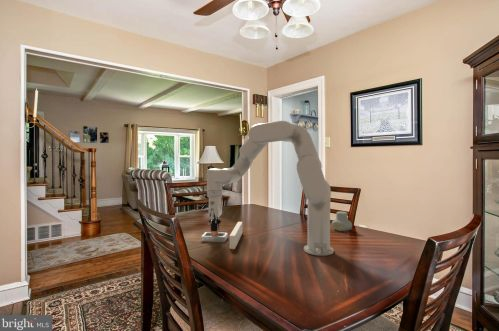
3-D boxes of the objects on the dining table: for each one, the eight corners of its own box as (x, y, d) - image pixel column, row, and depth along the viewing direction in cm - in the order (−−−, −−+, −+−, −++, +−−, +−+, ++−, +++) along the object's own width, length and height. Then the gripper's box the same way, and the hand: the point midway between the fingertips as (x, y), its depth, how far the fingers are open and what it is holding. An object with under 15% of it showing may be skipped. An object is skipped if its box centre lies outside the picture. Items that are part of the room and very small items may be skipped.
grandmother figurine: (206, 236, 135) (206, 211, 134) (208, 234, 138) (208, 209, 137) (221, 237, 134) (221, 212, 133) (223, 234, 138) (223, 210, 136)
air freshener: (329, 229, 154) (329, 211, 154) (336, 226, 160) (337, 210, 159) (347, 233, 146) (347, 215, 146) (354, 230, 151) (354, 212, 151)
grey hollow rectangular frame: (224, 242, 131) (224, 237, 131) (201, 241, 133) (201, 236, 133) (227, 237, 139) (227, 232, 139) (205, 236, 140) (205, 232, 140)
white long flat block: (234, 249, 122) (234, 235, 121) (229, 248, 122) (229, 235, 122) (242, 232, 148) (242, 221, 147) (238, 232, 148) (238, 221, 148)
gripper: (218, 195, 127) (218, 235, 127) (225, 191, 143) (225, 226, 143) (202, 195, 127) (203, 234, 128) (211, 191, 144) (211, 225, 144)
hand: (215, 229), depth 136 cm, fingers closed on grandmother figurine, 3 cm apart
